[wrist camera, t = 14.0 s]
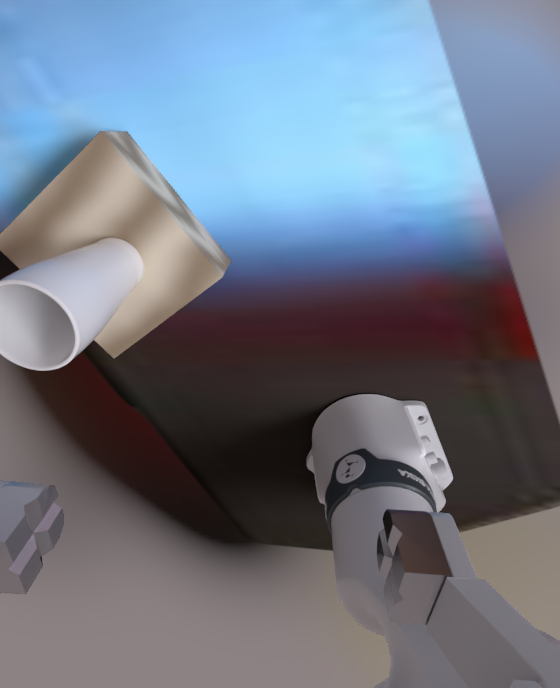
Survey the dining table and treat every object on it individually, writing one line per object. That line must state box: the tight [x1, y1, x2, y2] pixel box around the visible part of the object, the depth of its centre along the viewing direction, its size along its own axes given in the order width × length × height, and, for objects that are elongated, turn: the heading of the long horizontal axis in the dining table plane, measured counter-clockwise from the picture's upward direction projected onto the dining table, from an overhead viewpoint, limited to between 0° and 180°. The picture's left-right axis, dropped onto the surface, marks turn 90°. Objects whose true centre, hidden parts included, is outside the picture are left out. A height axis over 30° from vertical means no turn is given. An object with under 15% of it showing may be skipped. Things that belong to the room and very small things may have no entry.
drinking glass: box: [0, 238, 144, 371], centre depth 33 cm, size 7×7×15 cm
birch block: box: [0, 131, 231, 358], centre depth 42 cm, size 16×16×6 cm
